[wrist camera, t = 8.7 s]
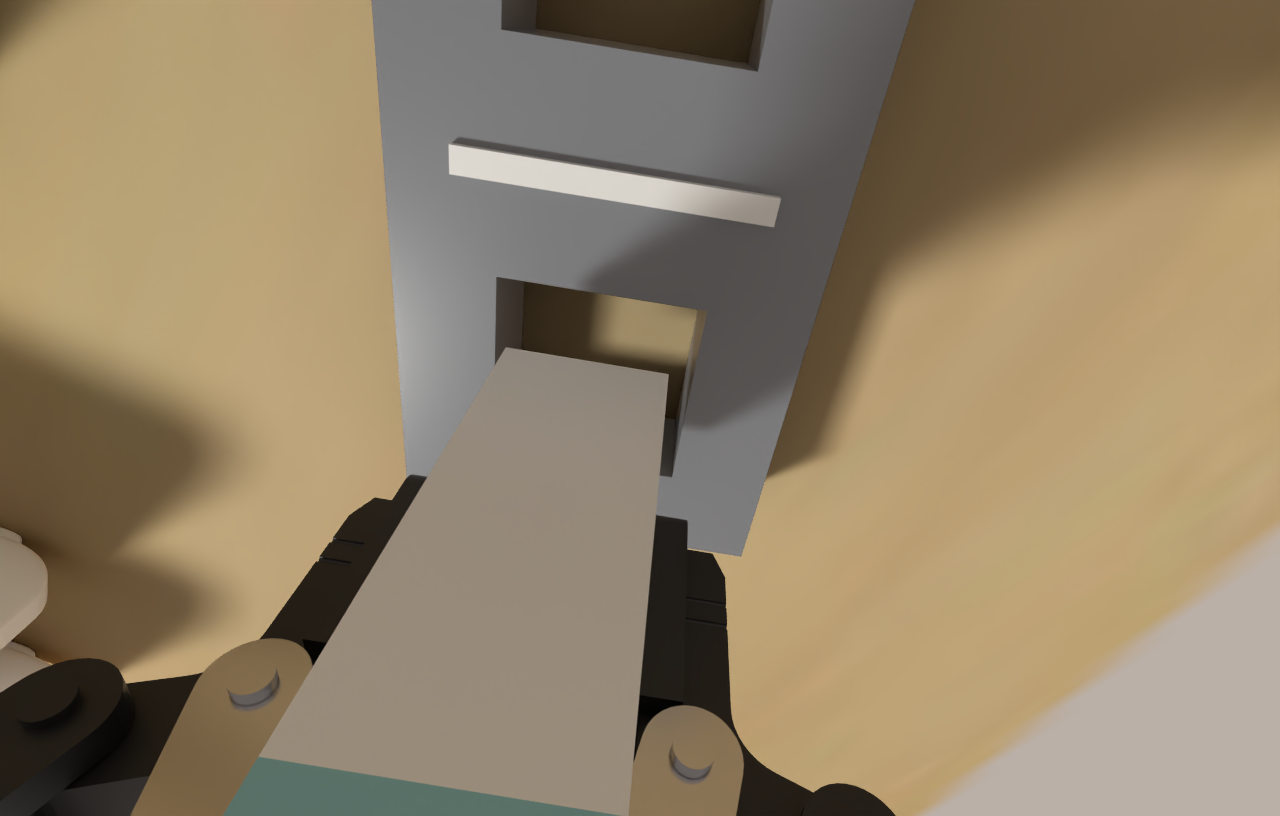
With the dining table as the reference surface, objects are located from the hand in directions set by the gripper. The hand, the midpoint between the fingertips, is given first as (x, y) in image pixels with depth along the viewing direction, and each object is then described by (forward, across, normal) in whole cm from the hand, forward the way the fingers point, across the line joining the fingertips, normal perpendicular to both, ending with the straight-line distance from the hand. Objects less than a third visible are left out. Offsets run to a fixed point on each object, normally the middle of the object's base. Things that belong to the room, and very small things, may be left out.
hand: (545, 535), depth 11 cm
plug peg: (+4, 0, 0) cm, 4 cm away
